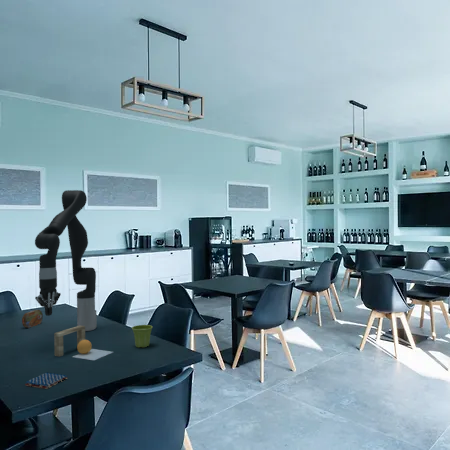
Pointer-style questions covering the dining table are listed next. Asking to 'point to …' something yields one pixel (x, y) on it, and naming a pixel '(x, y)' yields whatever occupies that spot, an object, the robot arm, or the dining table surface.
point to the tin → (32, 318)
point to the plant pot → (142, 335)
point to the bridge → (59, 335)
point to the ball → (84, 346)
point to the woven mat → (46, 380)
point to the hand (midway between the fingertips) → (48, 315)
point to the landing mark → (93, 354)
